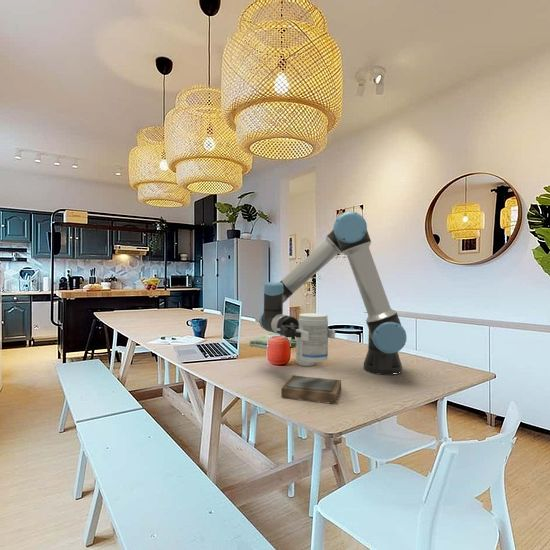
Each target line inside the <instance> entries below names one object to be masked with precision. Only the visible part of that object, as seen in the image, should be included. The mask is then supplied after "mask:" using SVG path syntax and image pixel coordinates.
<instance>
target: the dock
mask: <svg viewBox="0 0 550 550" xmlns="http://www.w3.org/2000/svg"><path fill="white" fill-rule="evenodd" d="M280 390H281V392H280V393H281V395H280V398H281V397H283V399H288V398H290V399H289V400H297V399H301V400H300V401H306V400H309V401H308V402H314V401H320V402H319V403H323V402H329V403H328V404H331V403H336V404H337V402H336V401H338V399H339V396H340V394H341V391H342V380H341V379H333V378H322V377H313V376H312V377H310V376H301V375H292V376H290V378H289V379H288V380H287V381H286V382H285V383H284V384H283V386H282V387H281V389H280ZM340 390H341V391H340ZM338 395H339V396H338ZM337 398H338V399H337Z"/></svg>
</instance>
